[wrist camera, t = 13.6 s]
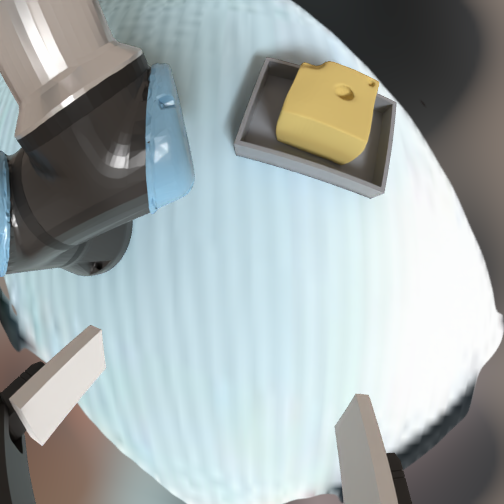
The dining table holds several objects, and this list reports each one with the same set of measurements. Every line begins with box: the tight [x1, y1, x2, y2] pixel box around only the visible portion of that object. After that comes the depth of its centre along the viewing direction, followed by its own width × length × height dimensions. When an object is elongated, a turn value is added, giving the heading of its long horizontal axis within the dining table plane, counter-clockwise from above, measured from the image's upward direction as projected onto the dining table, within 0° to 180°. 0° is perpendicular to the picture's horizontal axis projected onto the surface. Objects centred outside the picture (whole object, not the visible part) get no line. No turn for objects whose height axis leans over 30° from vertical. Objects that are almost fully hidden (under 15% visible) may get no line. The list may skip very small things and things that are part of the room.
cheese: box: [276, 61, 379, 165], centre depth 30 cm, size 10×11×10 cm
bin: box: [234, 57, 396, 199], centre depth 34 cm, size 20×15×4 cm
